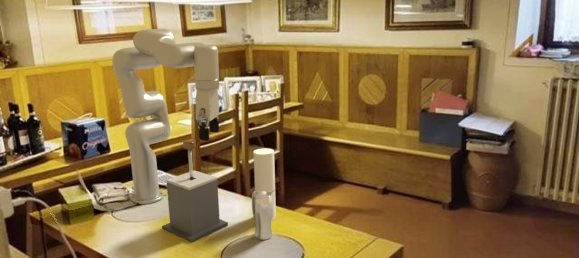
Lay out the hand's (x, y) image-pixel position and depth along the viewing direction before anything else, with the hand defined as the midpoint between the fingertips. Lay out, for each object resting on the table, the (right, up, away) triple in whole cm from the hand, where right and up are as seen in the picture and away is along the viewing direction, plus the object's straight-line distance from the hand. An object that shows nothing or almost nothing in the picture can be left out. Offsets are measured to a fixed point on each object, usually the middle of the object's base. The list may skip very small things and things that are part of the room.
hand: (209, 136), depth 156 cm
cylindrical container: (+18, -30, +16) cm, 38 cm away
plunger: (-7, -18, +6) cm, 20 cm away
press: (-6, -32, +9) cm, 34 cm away
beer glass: (+18, -33, +2) cm, 38 cm away
